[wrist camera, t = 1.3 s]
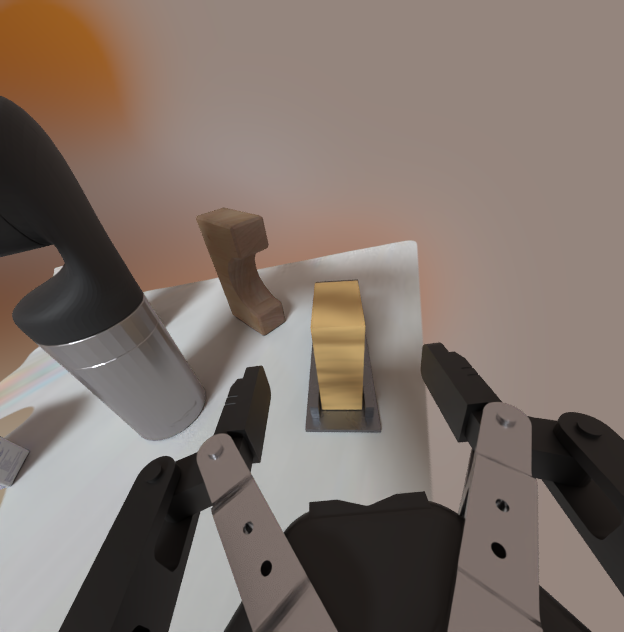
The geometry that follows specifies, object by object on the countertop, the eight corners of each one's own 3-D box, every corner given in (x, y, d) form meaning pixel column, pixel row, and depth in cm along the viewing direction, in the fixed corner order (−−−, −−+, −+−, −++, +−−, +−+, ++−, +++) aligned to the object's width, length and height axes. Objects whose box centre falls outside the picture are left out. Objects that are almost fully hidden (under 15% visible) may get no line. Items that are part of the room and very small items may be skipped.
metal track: (380, 432, 29) (385, 401, 25) (305, 431, 30) (298, 401, 26) (360, 307, 49) (361, 278, 45) (315, 309, 50) (312, 281, 46)
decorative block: (287, 322, 47) (263, 215, 35) (263, 338, 44) (229, 227, 32) (254, 302, 54) (225, 206, 42) (232, 314, 51) (193, 216, 39)
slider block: (361, 409, 31) (365, 325, 22) (322, 409, 31) (310, 327, 23) (356, 360, 37) (357, 280, 28) (323, 361, 38) (314, 282, 29)
